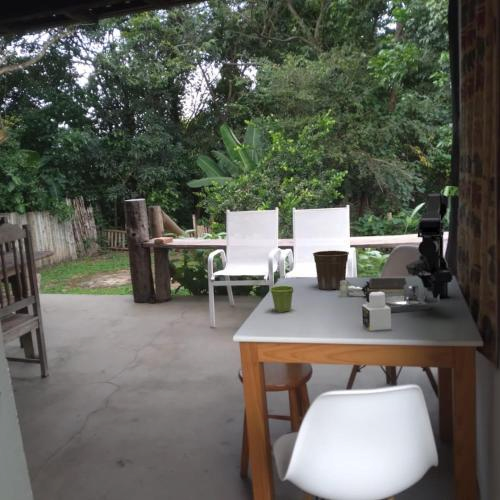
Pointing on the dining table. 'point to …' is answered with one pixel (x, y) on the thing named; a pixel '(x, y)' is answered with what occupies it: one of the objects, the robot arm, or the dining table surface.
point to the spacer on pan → (411, 292)
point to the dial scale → (405, 304)
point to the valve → (351, 288)
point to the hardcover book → (387, 284)
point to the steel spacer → (430, 295)
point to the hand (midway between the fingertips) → (431, 296)
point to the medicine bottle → (376, 311)
